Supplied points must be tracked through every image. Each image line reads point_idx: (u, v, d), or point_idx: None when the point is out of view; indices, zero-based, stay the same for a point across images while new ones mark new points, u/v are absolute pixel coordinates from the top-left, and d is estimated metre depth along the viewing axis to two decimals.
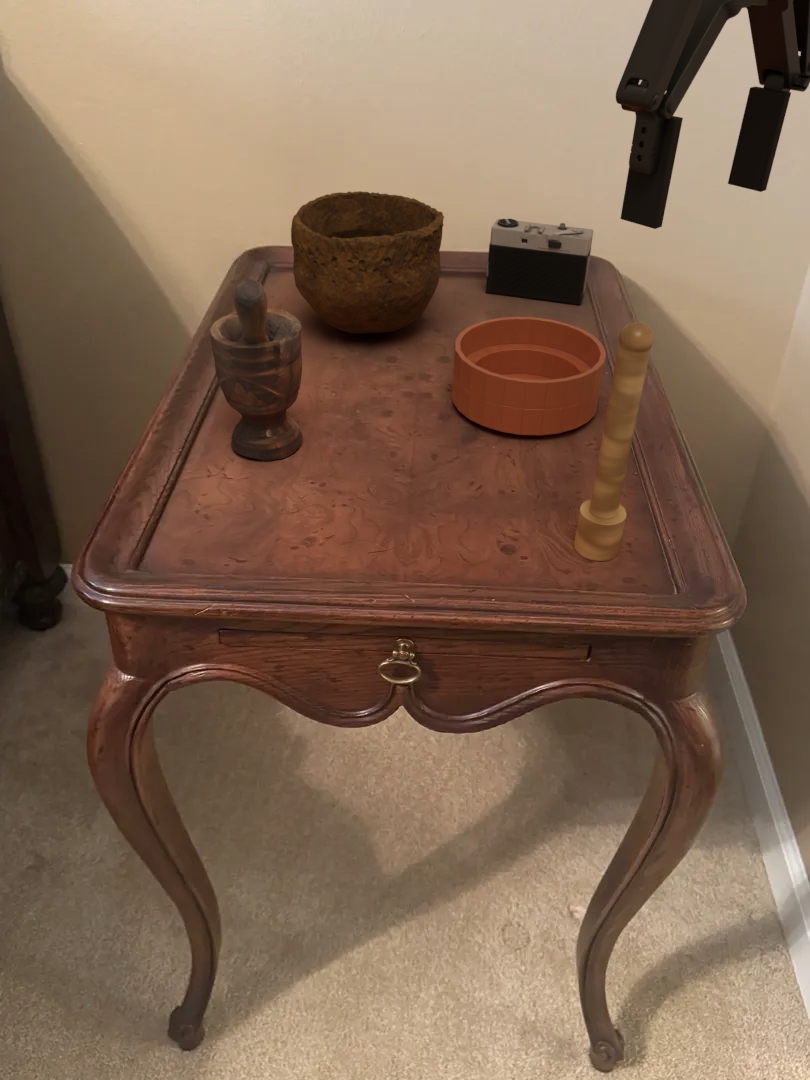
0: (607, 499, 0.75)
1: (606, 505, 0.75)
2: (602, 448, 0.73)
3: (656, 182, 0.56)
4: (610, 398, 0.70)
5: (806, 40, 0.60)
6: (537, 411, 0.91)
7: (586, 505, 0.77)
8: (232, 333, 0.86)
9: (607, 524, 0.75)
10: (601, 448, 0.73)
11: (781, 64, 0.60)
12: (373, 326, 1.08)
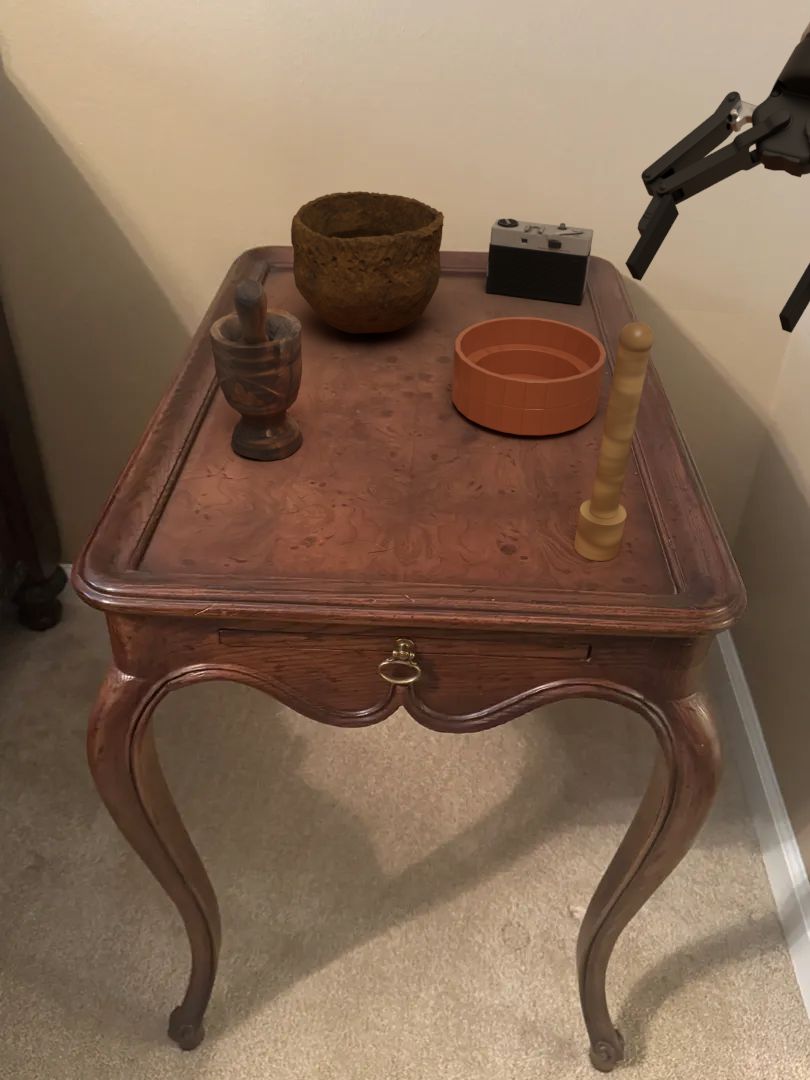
0: (607, 499, 0.75)
1: (606, 505, 0.75)
2: (602, 448, 0.73)
3: None
4: (610, 398, 0.70)
5: None
6: (537, 411, 0.91)
7: (586, 505, 0.77)
8: (232, 333, 0.86)
9: (607, 524, 0.75)
10: (601, 448, 0.73)
11: None
12: (373, 326, 1.08)
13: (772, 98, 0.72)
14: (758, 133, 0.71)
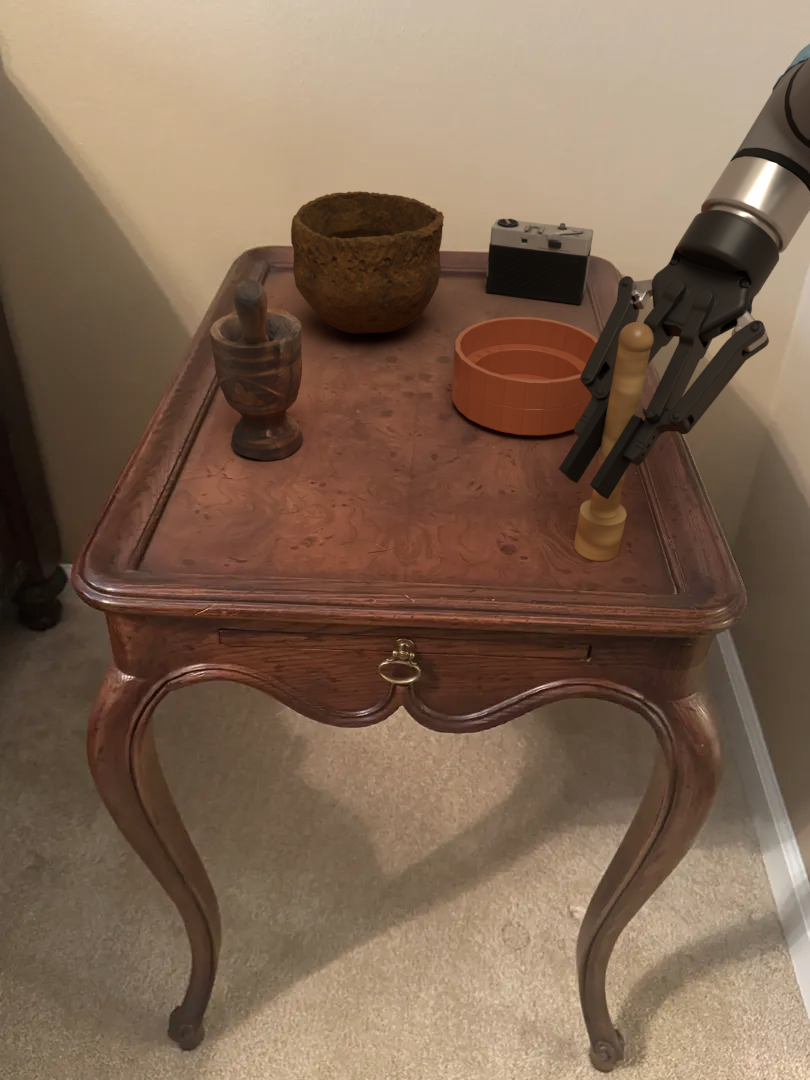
0: (607, 499, 0.75)
1: (606, 505, 0.75)
2: (602, 448, 0.73)
3: None
4: (610, 398, 0.70)
5: (689, 388, 0.68)
6: (537, 411, 0.91)
7: (586, 505, 0.77)
8: (232, 333, 0.86)
9: (607, 524, 0.75)
10: (601, 448, 0.73)
11: None
12: (373, 326, 1.08)
13: (671, 266, 0.72)
14: (663, 309, 0.71)
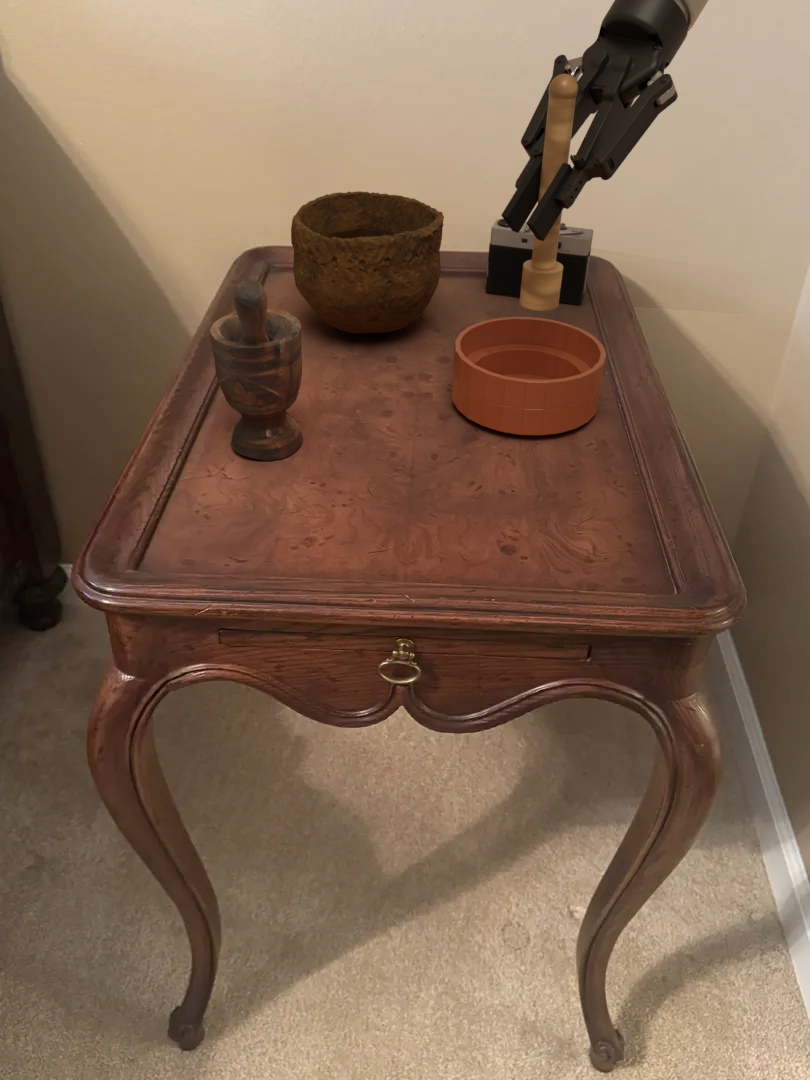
0: (545, 249, 0.87)
1: (544, 255, 0.87)
2: (539, 199, 0.85)
3: None
4: (544, 149, 0.82)
5: (609, 136, 0.80)
6: (537, 411, 0.91)
7: (529, 262, 0.89)
8: (232, 333, 0.86)
9: (545, 273, 0.87)
10: (538, 200, 0.85)
11: None
12: (373, 326, 1.08)
13: (597, 42, 0.84)
14: (590, 74, 0.83)
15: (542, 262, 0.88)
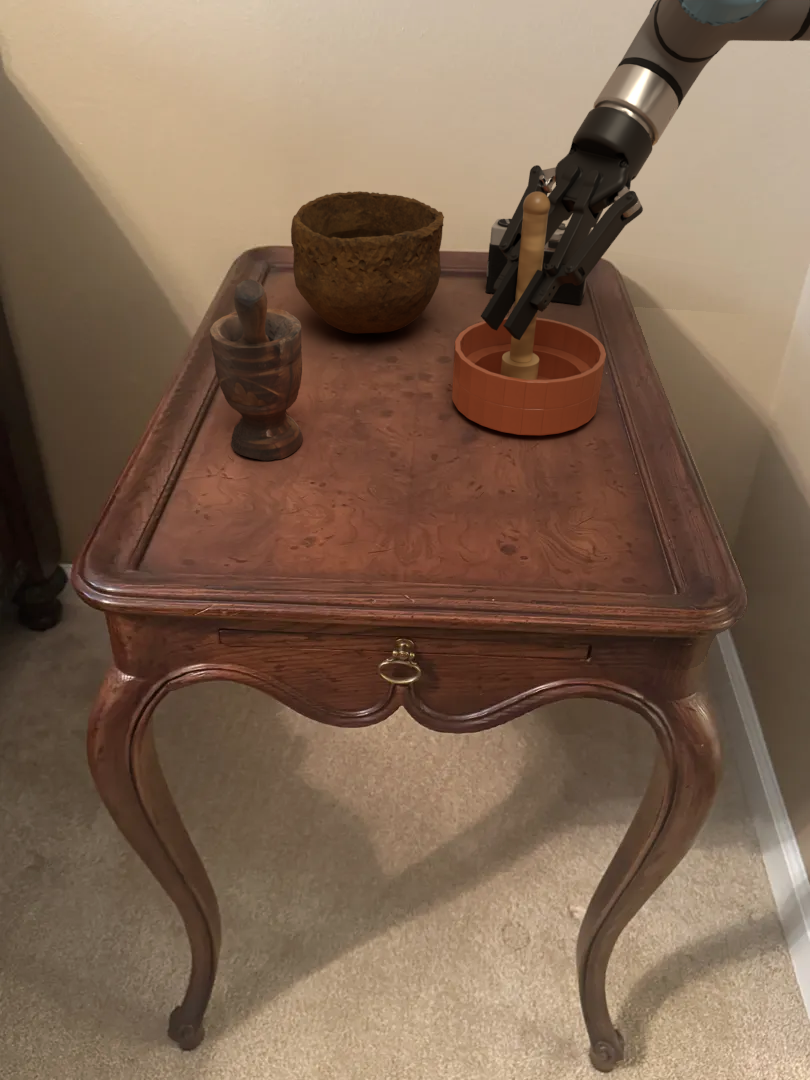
0: (522, 345, 0.93)
1: (521, 350, 0.93)
2: (515, 301, 0.91)
3: None
4: (519, 256, 0.88)
5: (580, 246, 0.87)
6: (537, 411, 0.91)
7: (507, 354, 0.96)
8: (232, 333, 0.86)
9: (522, 366, 0.94)
10: (515, 301, 0.91)
11: None
12: (373, 326, 1.08)
13: (569, 155, 0.91)
14: (562, 187, 0.89)
15: (519, 356, 0.94)
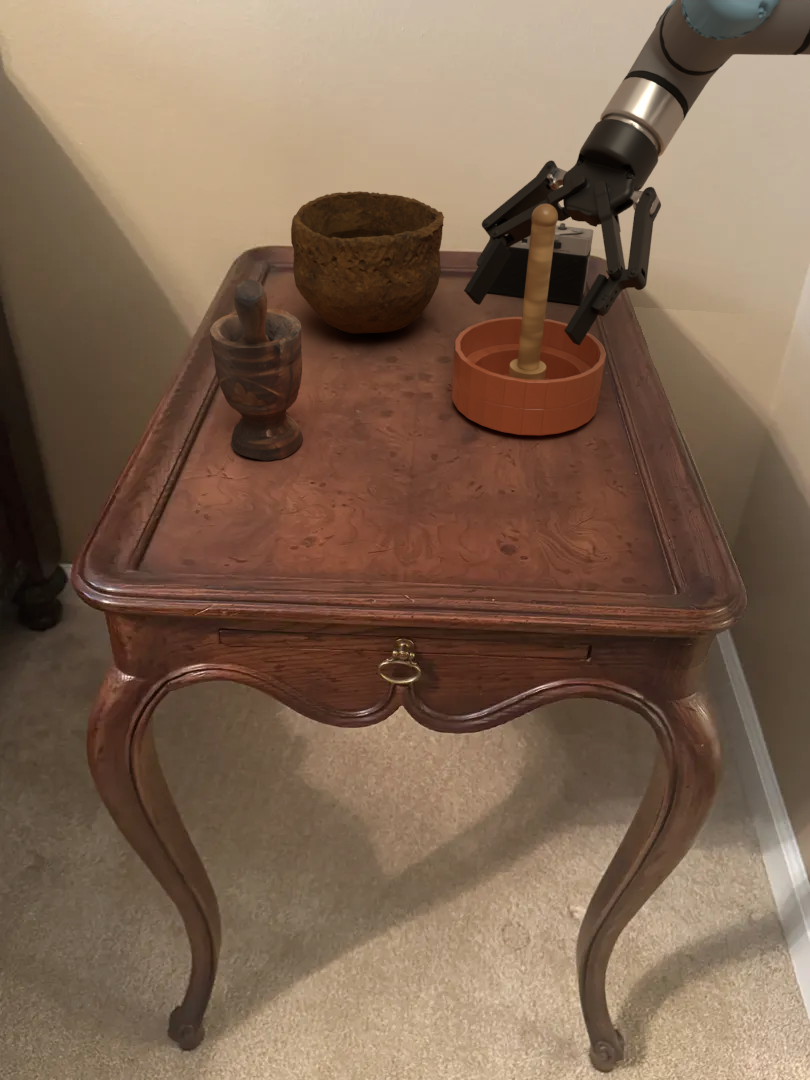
0: (529, 353, 0.95)
1: (528, 358, 0.95)
2: (523, 310, 0.93)
3: None
4: (527, 267, 0.90)
5: (630, 252, 0.86)
6: (537, 411, 0.91)
7: (515, 362, 0.98)
8: (232, 333, 0.86)
9: (530, 374, 0.95)
10: (523, 310, 0.93)
11: None
12: (373, 326, 1.08)
13: (577, 166, 0.92)
14: (563, 192, 0.91)
15: (527, 364, 0.96)
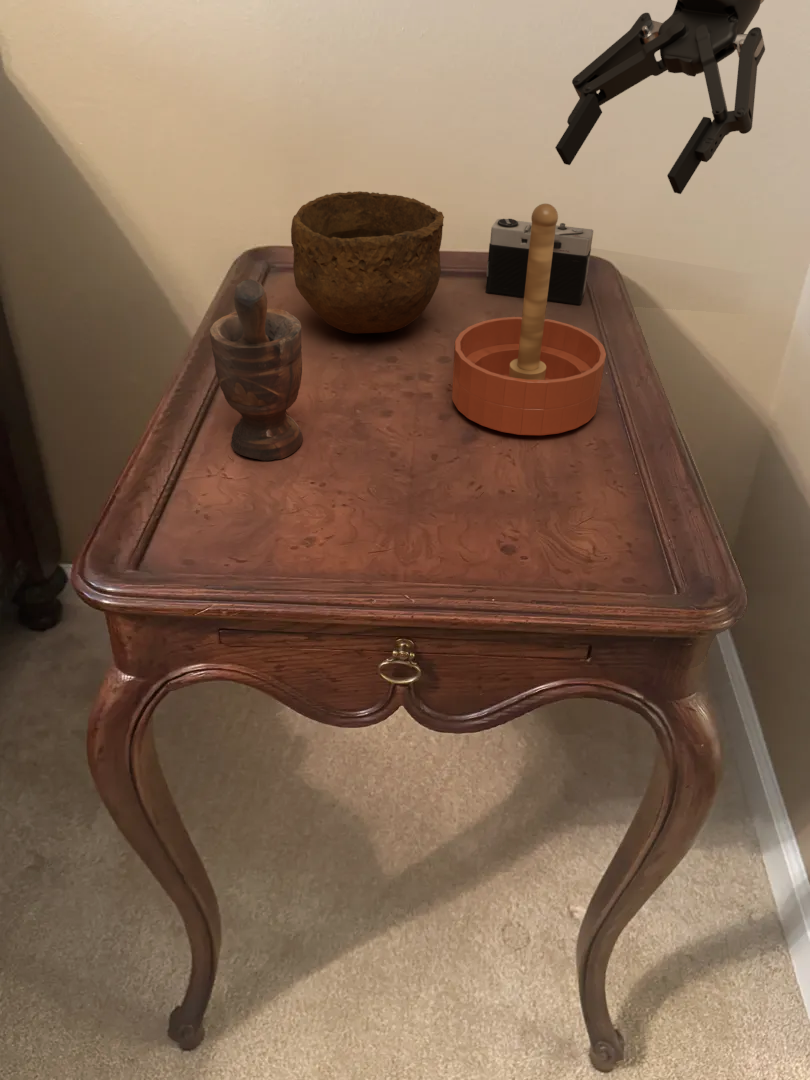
0: (529, 353, 0.95)
1: (528, 358, 0.95)
2: (523, 310, 0.93)
3: None
4: (527, 267, 0.90)
5: (736, 93, 0.83)
6: (537, 411, 0.91)
7: (515, 362, 0.98)
8: (232, 333, 0.86)
9: (530, 374, 0.95)
10: (523, 310, 0.93)
11: None
12: (373, 326, 1.08)
13: (674, 15, 0.90)
14: (660, 41, 0.89)
15: (527, 364, 0.96)
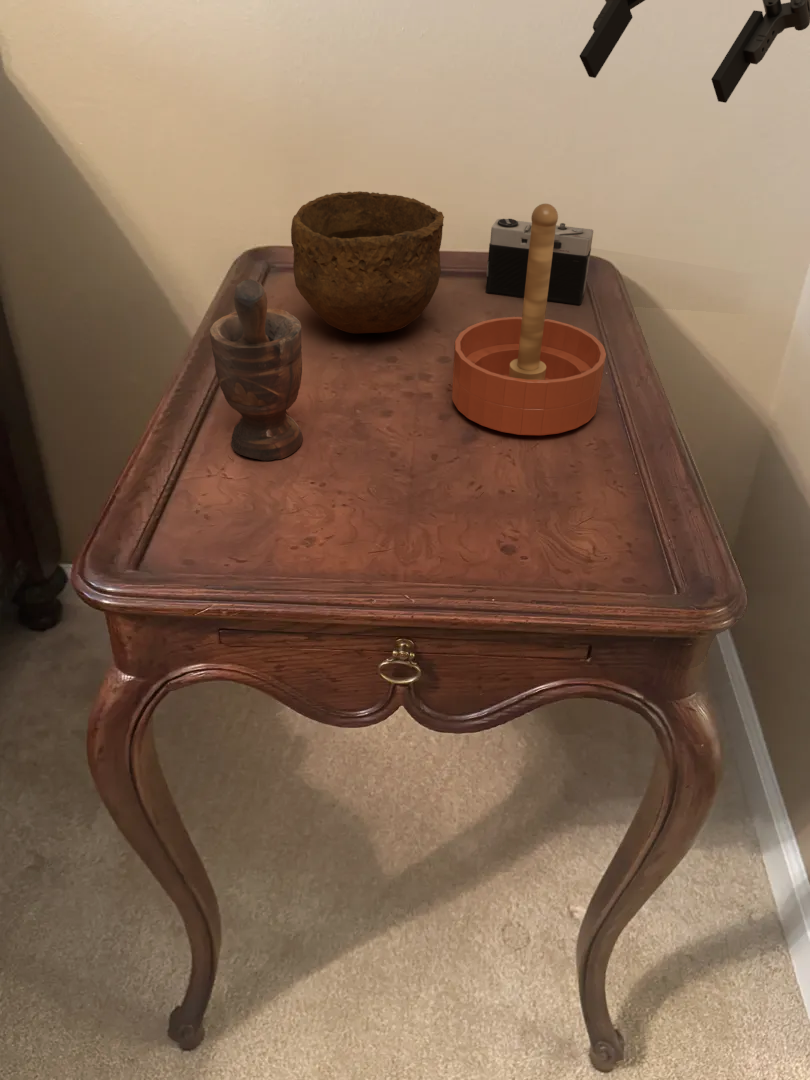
0: (529, 353, 0.95)
1: (528, 358, 0.95)
2: (523, 310, 0.93)
3: None
4: (527, 267, 0.90)
5: None
6: (537, 411, 0.91)
7: (515, 362, 0.98)
8: (232, 333, 0.86)
9: (530, 374, 0.95)
10: (523, 310, 0.93)
11: None
12: (373, 326, 1.08)
13: None
14: None
15: (527, 364, 0.96)
